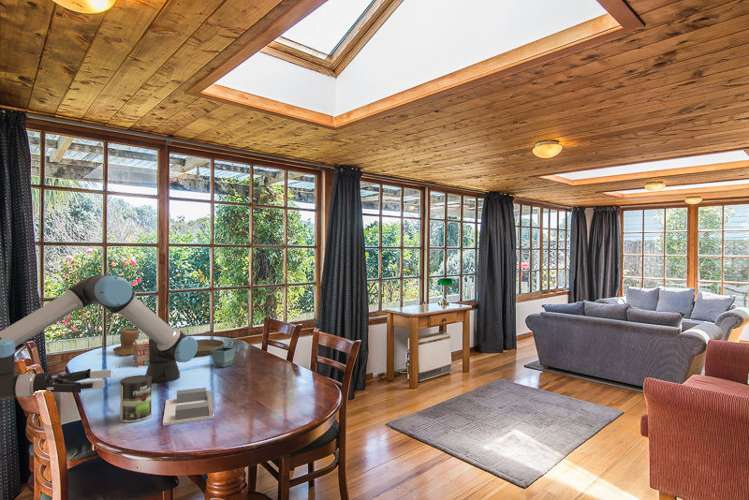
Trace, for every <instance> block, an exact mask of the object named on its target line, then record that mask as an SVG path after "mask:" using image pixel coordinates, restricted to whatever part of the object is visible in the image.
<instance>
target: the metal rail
mask: <svg viewBox="0 0 749 500" xmlns="http://www.w3.org/2000/svg"><path fill="white" fill-rule="evenodd" d="M206 391H207V402H208V411H209V416H213V411H214V405H213V397H212V390H210V389H206Z"/></svg>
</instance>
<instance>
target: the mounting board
mask: <svg viewBox="0 0 749 500" xmlns="http://www.w3.org/2000/svg"><path fill="white" fill-rule="evenodd" d="M201 402H207V396H206V400H200V401H192V402H184V403H177V398H171V399H166V400H165V407H164V411H163V412H164V414H163V418H162V427H165V426H169V425H179V424H186V423H191V422H192V423H193V422H199V421H206V420H212V419H213V420H214V419H215V413H214V410H213V416H209V411H208V416H202V417H195V418H188V419H180V420H175V409H176V406H177V405H185V404H193V403H201Z"/></svg>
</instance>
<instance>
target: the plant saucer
mask: <svg viewBox="0 0 749 500" xmlns="http://www.w3.org/2000/svg"><path fill="white" fill-rule="evenodd" d="M196 341H197V344H198V346H197V348H198V349H197V352H196V354H195V356H194V357H193V358H199V357H200V358H201V357H206V356H212V351H211V350H214V349H217V348H221V347H225V345H226V344H225V341H223V340H220V339H214V338H213V339H212V338H207V339H205V338H204V339H196Z"/></svg>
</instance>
